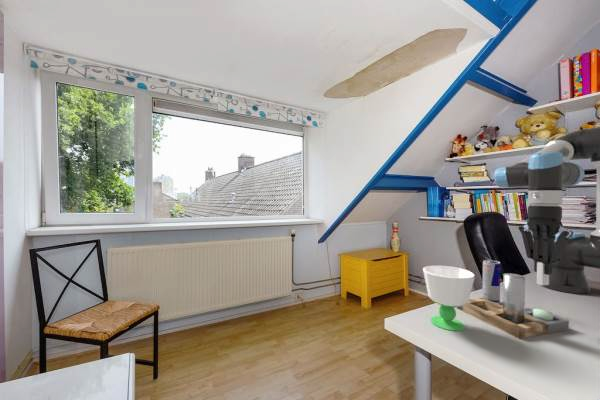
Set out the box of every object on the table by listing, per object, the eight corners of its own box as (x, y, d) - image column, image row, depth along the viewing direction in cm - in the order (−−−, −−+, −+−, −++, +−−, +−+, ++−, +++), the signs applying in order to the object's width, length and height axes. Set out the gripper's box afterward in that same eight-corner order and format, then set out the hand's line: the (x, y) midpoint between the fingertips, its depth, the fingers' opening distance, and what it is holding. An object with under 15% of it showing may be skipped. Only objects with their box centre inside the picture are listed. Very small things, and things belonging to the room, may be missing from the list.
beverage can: (502, 305, 93) (503, 263, 93) (486, 304, 94) (487, 262, 94) (495, 300, 98) (495, 259, 98) (479, 298, 99) (480, 259, 99)
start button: (539, 315, 82) (539, 307, 82) (556, 322, 78) (556, 314, 78) (529, 317, 81) (529, 309, 81) (545, 324, 76) (545, 315, 76)
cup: (442, 337, 72) (442, 279, 72) (413, 314, 86) (413, 266, 85) (486, 333, 74) (487, 277, 74) (451, 312, 88) (451, 264, 88)
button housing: (537, 317, 84) (537, 309, 84) (568, 329, 76) (568, 320, 76) (518, 320, 82) (518, 312, 82) (548, 333, 74) (548, 324, 74)
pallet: (482, 304, 94) (482, 297, 94) (548, 333, 74) (548, 324, 74) (457, 308, 91) (457, 300, 91) (519, 338, 71) (519, 329, 71)
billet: (511, 321, 81) (511, 272, 81) (528, 329, 76) (529, 277, 76) (498, 323, 80) (499, 274, 80) (515, 331, 75) (516, 279, 75)
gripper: (512, 204, 84) (510, 278, 84) (562, 206, 71) (560, 293, 72) (529, 204, 86) (528, 276, 86) (581, 206, 73) (579, 290, 74)
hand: (542, 284), depth 79 cm, fingers closed
